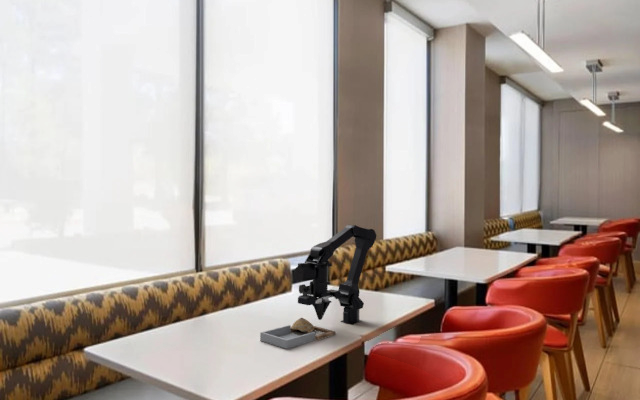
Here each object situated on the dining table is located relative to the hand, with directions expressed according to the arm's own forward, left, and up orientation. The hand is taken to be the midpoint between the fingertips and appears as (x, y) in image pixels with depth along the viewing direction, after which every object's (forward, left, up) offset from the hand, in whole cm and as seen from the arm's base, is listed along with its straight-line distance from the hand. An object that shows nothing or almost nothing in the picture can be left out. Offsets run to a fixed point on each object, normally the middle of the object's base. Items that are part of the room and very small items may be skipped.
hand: (319, 319), depth 188 cm
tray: (+17, 0, -5) cm, 17 cm away
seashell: (+6, 0, -5) cm, 7 cm away
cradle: (+6, 0, -5) cm, 7 cm away
